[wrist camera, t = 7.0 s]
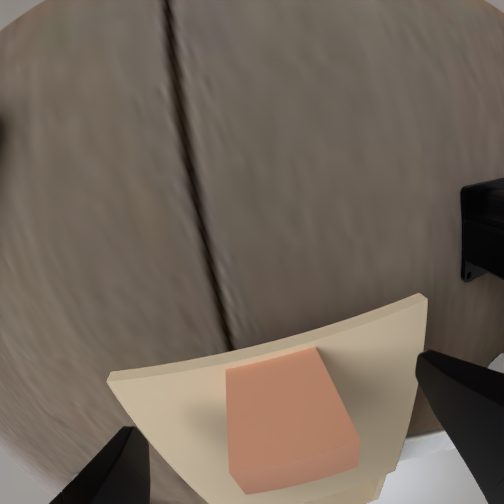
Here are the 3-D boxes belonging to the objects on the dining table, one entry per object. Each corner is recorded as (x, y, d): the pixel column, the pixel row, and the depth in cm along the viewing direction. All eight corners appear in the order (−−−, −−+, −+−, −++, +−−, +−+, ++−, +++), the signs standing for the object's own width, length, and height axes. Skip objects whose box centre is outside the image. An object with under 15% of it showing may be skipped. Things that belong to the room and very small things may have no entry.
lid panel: (419, 292, 9) (500, 356, 5) (392, 464, 13) (415, 511, 9) (110, 371, 9) (70, 465, 5) (221, 508, 13) (225, 560, 9)
